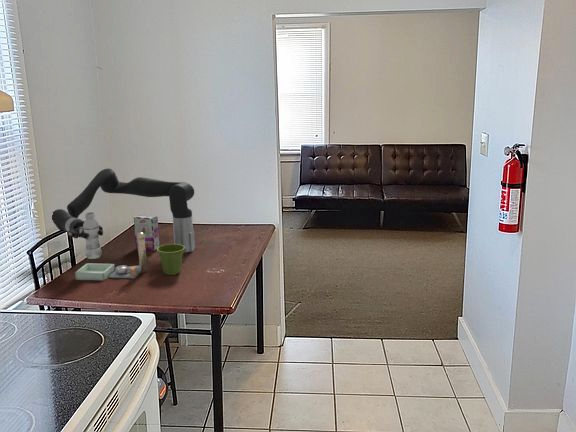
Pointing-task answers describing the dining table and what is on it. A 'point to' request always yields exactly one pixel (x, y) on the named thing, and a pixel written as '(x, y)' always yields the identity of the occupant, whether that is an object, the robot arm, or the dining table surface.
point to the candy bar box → (147, 231)
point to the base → (124, 275)
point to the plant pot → (171, 258)
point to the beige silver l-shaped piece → (142, 257)
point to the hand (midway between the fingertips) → (94, 234)
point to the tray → (94, 271)
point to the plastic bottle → (92, 236)
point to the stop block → (132, 270)
